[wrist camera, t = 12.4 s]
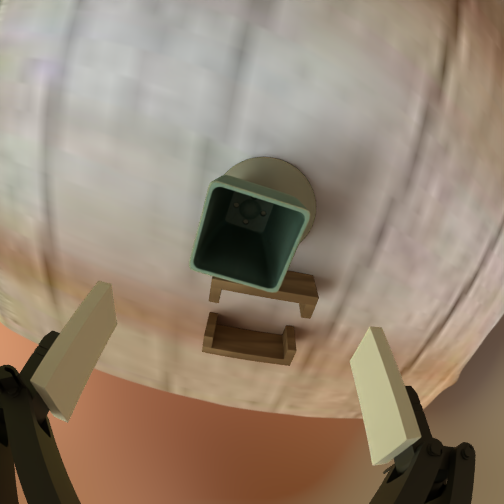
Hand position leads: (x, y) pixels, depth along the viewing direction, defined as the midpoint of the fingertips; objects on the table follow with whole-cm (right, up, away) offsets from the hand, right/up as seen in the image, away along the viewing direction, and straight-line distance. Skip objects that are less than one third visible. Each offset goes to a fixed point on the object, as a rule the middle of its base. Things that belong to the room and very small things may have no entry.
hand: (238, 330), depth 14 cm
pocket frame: (+1, -4, +26) cm, 27 cm away
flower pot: (+1, +9, +19) cm, 21 cm away
